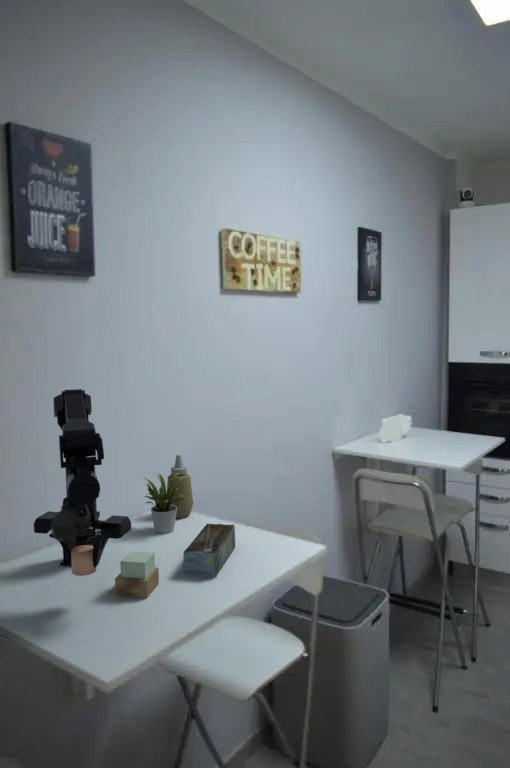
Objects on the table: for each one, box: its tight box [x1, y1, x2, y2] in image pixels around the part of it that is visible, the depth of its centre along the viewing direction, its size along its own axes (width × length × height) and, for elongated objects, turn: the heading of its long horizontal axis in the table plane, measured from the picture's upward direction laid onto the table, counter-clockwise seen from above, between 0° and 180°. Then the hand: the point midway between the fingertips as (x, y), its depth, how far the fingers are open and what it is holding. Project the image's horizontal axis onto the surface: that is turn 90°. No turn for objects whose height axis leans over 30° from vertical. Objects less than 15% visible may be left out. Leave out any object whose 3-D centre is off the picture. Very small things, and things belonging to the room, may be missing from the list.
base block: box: [114, 566, 160, 599], centre depth 132 cm, size 7×7×4 cm
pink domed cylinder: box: [71, 545, 97, 577], centre depth 125 cm, size 5×5×4 cm
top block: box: [119, 550, 156, 579], centre depth 132 cm, size 6×6×4 cm
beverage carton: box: [183, 523, 236, 578], centre depth 148 cm, size 8×19×7 cm, turn 168°
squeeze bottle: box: [166, 454, 194, 519], centre depth 180 cm, size 8×8×18 cm
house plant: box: [143, 472, 194, 535], centre depth 168 cm, size 14×14×16 cm
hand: (84, 565), depth 125 cm, fingers closed on pink domed cylinder, 5 cm apart
